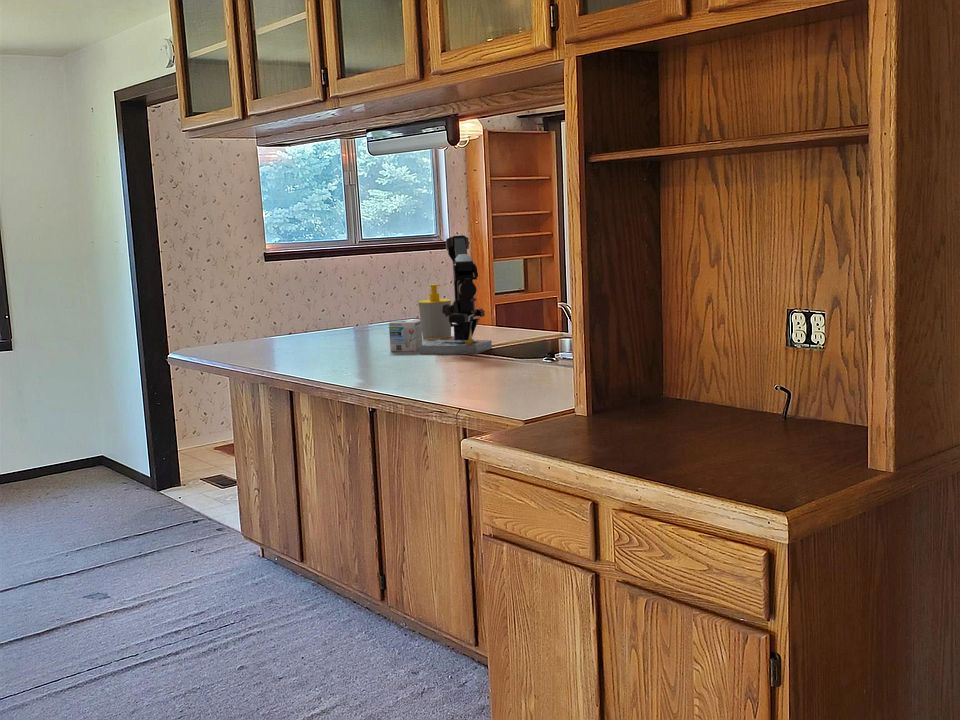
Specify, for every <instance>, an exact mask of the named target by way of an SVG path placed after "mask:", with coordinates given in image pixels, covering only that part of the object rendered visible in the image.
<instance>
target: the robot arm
mask: <svg viewBox="0 0 960 720" xmlns="http://www.w3.org/2000/svg"><path fill="white" fill-rule="evenodd" d="M469 240H470V239H469V237H468V236H466V235H465V234H453V235H451V237H448V238H446V239H445V251H447V254H448V257H449V258H450V259H451V261H452V274H453V275H452V276H453V292H454V300H453V302H452V303H451V306H450V305H449V304H446V305H443V309H442V310H443V311H442V313H444V314H445V316H446V317H447V316H449V322H450V326H451V328H453V333H454V334H453V335H454V340H468V339H469V335H470V331H471V333H472V337H473V336H474V333H475V330H476V327H477V326H478V323H479V321H480V320H481V319H480V318H483V317H486V315H485V313H486V312H485V309H483V308H476V307H475V302H476V301H477V297H475V295H476V293H477V286H476V285H475V283H474V281H475V280H476V281H477V280H478V277H479V273H478V265H476V262H474V261H473V258H472V257H471V256H469V253H468V250H469V249H470V243H469V242H470V241H469ZM479 317H480V318H479ZM472 340H474V339H473V338H472Z"/></svg>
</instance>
